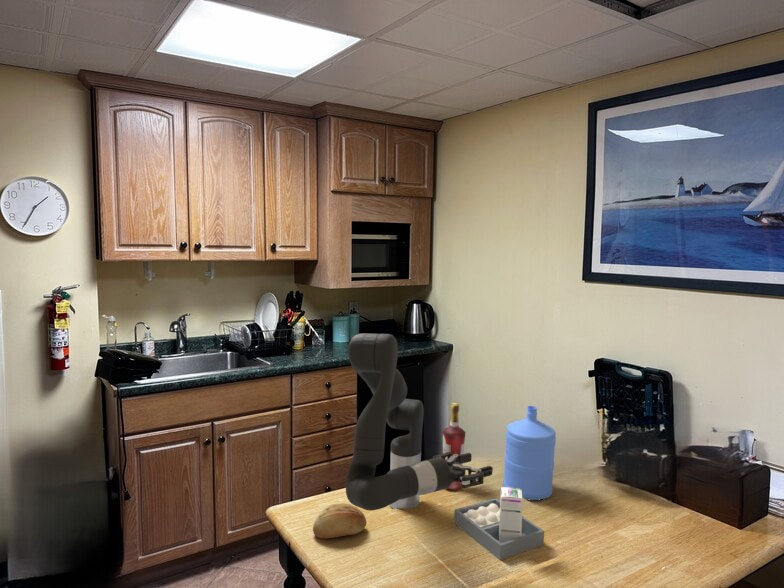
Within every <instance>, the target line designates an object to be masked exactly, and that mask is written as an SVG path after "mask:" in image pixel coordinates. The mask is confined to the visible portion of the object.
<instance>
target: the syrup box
mask: <svg viewBox="0 0 784 588" xmlns="http://www.w3.org/2000/svg"><path fill="white" fill-rule="evenodd" d="M523 499H524V498H522V489H518V488H511V487H504V486H503V487H502V486H501V488H500V499H499V501H500V523H499V542H500V543H503V542H506V541H509V540H512V539H515V538H518V537H521V532H522V516H523Z"/></svg>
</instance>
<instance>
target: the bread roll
mask: <svg viewBox="0 0 784 588" xmlns="http://www.w3.org/2000/svg"><path fill="white" fill-rule="evenodd" d="M366 527H367V519H366V516H365V514H364V513H363V512H362V510H360V509H359V507H357V506H355V505H353V504H351V503H334V504H330V505H328V506H326V507H325V508H324V509H322V510H321V511H320V513H319V514H318V516H317V517H316V519H315V520H314V523H313V527H312V532H313V535H315V536H316V537H318V538H319V539H333V538H334V539H335V538H339V537H343V536H344V537H345V536H352V535H357V534H358V533H361V532H362V531H363V530H364V529H365V528H366Z"/></svg>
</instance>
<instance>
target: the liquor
mask: <svg viewBox="0 0 784 588" xmlns="http://www.w3.org/2000/svg"><path fill="white" fill-rule="evenodd" d="M459 411H460V404H459V403H454V402H453V403H451V404H450V412H451V414H450V416H451V417H450V420H449V421H450V422H449V426H447V427H446V428H444V429H443V430H442V454H443V453H447V452H452V454H453V455H454V454H458V455H461V454H465V453H464V452H465V441H466V431H465V430H464V429H463V428H462V427H460V425H459V423H460V421H459V420H460V419H459ZM447 458H448V456H447V457H446V458H445V460H447ZM461 465H463V464H461ZM460 488H462V483H461V482H452V483H451V484H450V486H449V487H448V488H447V489H446V490H449V489H450V491H456V490H455V489H457V490H458V489H460Z"/></svg>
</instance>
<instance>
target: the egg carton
mask: <svg viewBox="0 0 784 588" xmlns="http://www.w3.org/2000/svg"><path fill="white" fill-rule="evenodd" d="M463 514H464V515H465V516H467V517H468V518H469V519H470V520H472V521H473V522H474V523H476V524H477V525H478V526H480V527H481V528H484V527H488V526H491V525H494V524H497V523H500V508H498V506H497V505H496V504H494V503H492V504H490V505H489V506H488V507H484V506H481V507H479V508H478V509H477V510H473V509H471V510H469V511H468V512H467V513H463Z"/></svg>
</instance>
